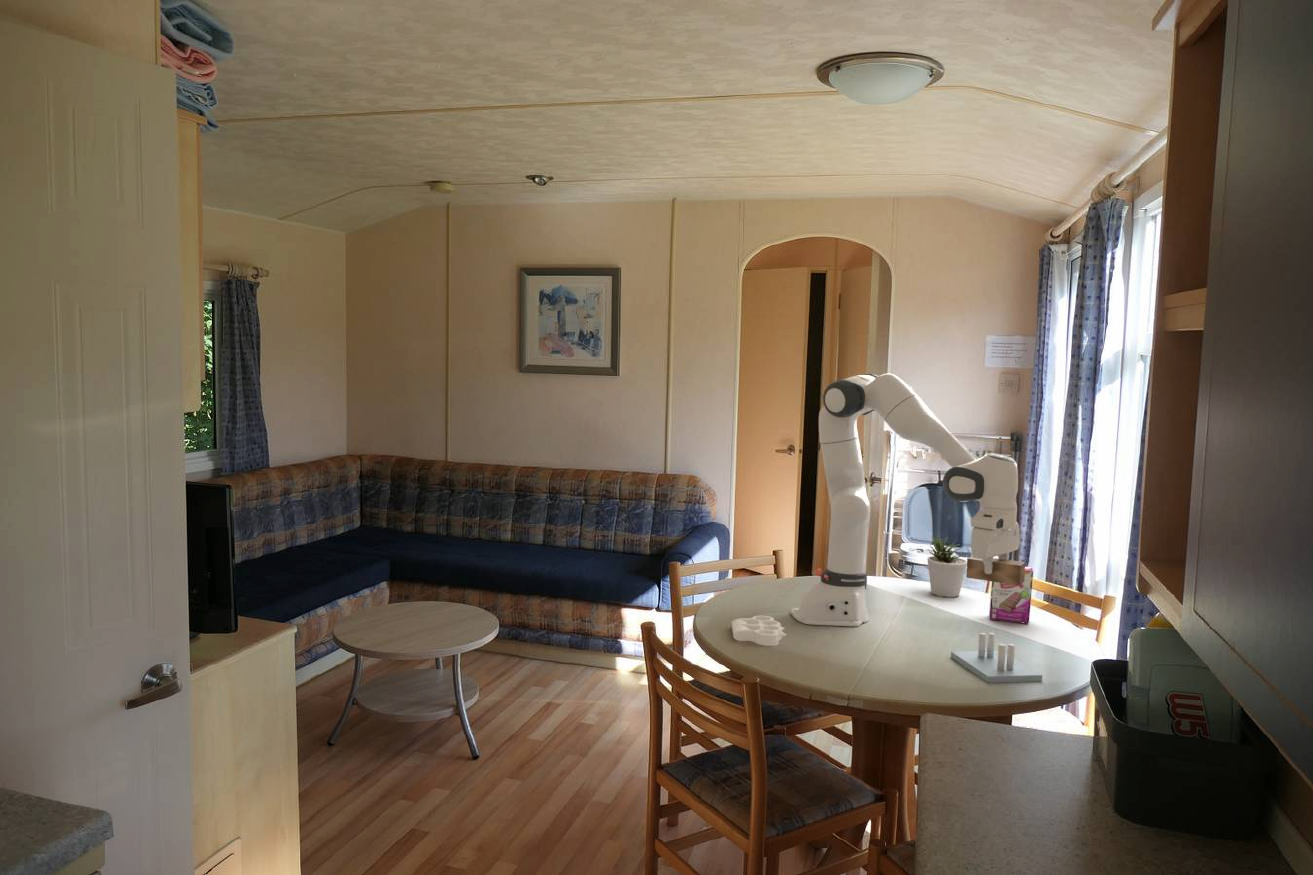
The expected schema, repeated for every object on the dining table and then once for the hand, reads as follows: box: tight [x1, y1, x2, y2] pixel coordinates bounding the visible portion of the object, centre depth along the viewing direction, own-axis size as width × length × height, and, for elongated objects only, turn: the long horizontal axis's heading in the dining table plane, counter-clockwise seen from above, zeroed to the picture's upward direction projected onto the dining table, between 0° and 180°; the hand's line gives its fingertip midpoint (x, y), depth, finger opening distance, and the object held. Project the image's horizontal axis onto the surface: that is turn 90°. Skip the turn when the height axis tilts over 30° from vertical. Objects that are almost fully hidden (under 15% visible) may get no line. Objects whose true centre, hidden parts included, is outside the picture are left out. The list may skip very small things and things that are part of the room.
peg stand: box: [950, 632, 1043, 684], centre depth 216 cm, size 14×18×8 cm
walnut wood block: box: [966, 555, 1026, 585], centre depth 222 cm, size 13×5×5 cm, turn 55°
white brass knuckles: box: [731, 615, 788, 647], centre depth 238 cm, size 3×18×15 cm
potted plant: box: [927, 532, 967, 598], centre depth 288 cm, size 13×14×20 cm
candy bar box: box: [988, 566, 1034, 624], centre depth 260 cm, size 11×5×16 cm, turn 71°
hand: (995, 571), depth 222 cm, fingers closed on walnut wood block, 5 cm apart
